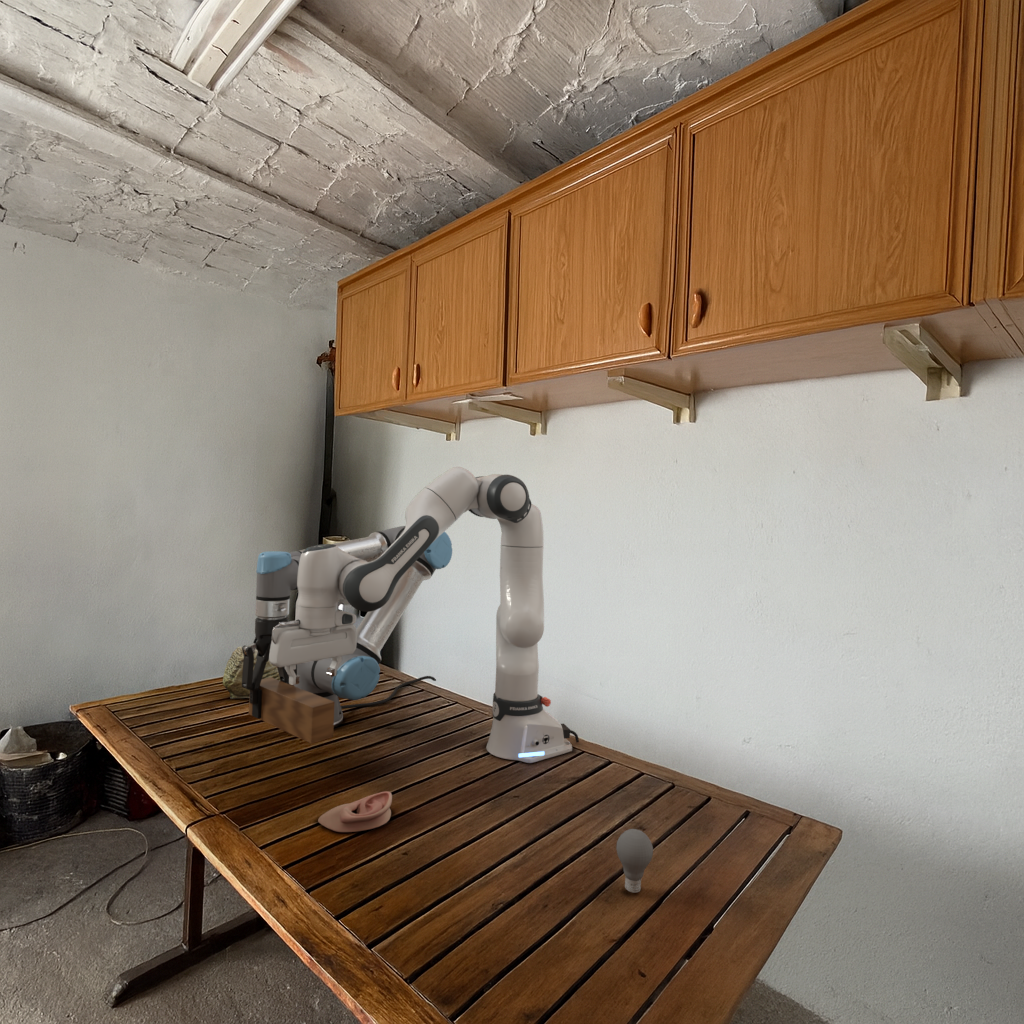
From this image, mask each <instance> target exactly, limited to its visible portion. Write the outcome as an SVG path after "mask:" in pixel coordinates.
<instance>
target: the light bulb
mask: <svg viewBox="0 0 1024 1024" xmlns="http://www.w3.org/2000/svg"><path fill="white" fill-rule="evenodd" d="M615 849H616V854H617V857H618V859H619V861H620V863H621V865H622V867H623V873H624V874H623V875H624V876H625V878H624V888H625V890H627V891H628V892H630V893H634V894H635V893H639V892H640V891H641V889H642V887H641V886H642V879H643V877H644V875H645V871H646V868H647V867H648V866H649V864H650V863H651V861H652V859H653V855H654V847H653V843H652V841H651V838H649V836H648V835H647V834H646V833H645V832H643V831H642V830H641V829H636V828H629V829H627V830H625V831H623V832H622V833H621V834H620V835H619V837H618V839H617V841H616V847H615Z"/></svg>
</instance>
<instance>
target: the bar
mask: <svg viewBox="0 0 1024 1024" xmlns="http://www.w3.org/2000/svg"><path fill="white" fill-rule="evenodd" d="M259 689H260V690H262V706H261V718H259V719H258V720H260V721H263V722H265V723H267V724H269V725H271V726H273V727H274V728H277V729H279V730H282V731H284V732H286V733H288V734H290V735H292V736H294V737H296V738H298V739H301V740H303V741H305V742H307V743H309V744H311V745H312V744H314V743H318V742H322V741H325V740H327V739H332V738H334V729H335V728H334V701H331V700H328V699H326V698H323V697H321V696H318V695H316V694H313V693H310V692H308V691H305V690H303V689H300V688H297V687H295V686H294V685H291V684H287V683H285V682H282V681H279V680H277V679H274V678H272V677H270V678H265V679H262V680H261V683H260V687H259ZM248 699H249V700H250V692H249V698H248ZM249 700H248V715H249V716H252V704H251V703H250V701H249Z"/></svg>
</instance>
